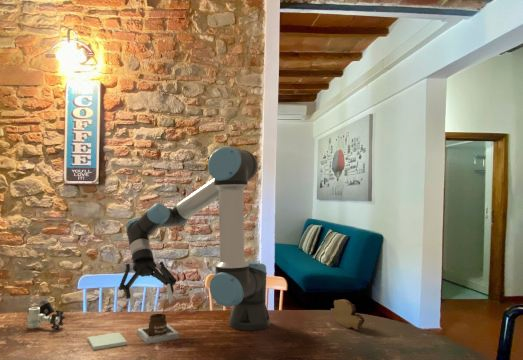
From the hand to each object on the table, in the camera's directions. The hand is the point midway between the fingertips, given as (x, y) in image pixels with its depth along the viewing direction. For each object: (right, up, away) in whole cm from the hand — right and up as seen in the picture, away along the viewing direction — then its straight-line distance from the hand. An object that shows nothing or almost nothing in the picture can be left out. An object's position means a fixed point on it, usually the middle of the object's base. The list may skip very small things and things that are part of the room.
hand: (152, 303), depth 147 cm
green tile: (-12, -9, -10) cm, 18 cm away
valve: (-39, -9, +3) cm, 40 cm away
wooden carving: (+69, -12, +12) cm, 72 cm away
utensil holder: (+3, -10, -4) cm, 11 cm away
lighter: (-46, -10, +14) cm, 49 cm away
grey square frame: (+3, -10, -4) cm, 11 cm away
